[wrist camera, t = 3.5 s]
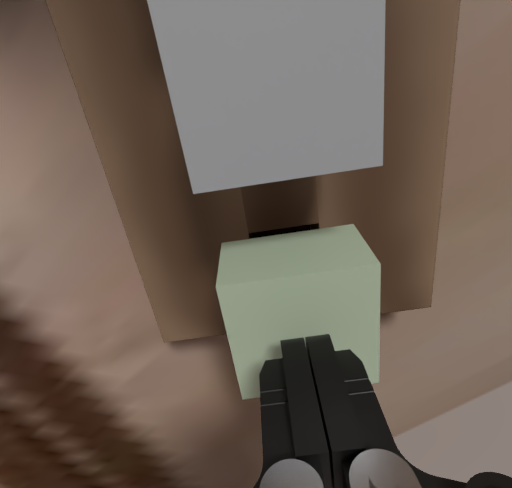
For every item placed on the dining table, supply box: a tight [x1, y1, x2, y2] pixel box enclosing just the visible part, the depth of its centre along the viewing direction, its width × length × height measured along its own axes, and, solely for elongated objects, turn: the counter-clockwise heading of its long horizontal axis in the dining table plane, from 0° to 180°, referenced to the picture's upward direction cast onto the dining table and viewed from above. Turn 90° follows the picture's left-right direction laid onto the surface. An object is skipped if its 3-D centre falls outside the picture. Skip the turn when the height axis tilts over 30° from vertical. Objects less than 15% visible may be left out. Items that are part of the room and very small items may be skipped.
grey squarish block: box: [147, 0, 386, 194], centre depth 11 cm, size 5×5×6 cm
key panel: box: [45, 0, 460, 342], centre depth 14 cm, size 14×24×3 cm, turn 8°
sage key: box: [216, 224, 381, 400], centre depth 14 cm, size 5×5×6 cm
